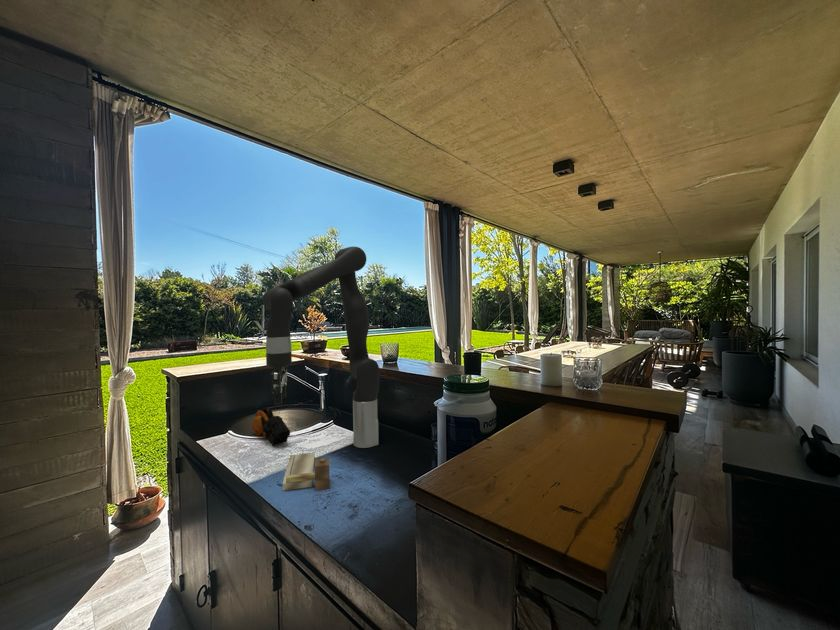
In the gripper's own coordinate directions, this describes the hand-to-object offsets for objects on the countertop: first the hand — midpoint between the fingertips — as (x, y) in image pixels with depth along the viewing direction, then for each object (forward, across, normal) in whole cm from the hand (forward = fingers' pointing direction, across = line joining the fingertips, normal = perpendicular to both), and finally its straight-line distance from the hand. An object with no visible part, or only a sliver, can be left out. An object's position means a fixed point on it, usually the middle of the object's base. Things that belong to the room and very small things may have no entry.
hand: (280, 401), depth 110 cm
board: (+23, -3, -6) cm, 23 cm away
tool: (+23, +29, +9) cm, 38 cm away
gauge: (+23, -13, -9) cm, 27 cm away
